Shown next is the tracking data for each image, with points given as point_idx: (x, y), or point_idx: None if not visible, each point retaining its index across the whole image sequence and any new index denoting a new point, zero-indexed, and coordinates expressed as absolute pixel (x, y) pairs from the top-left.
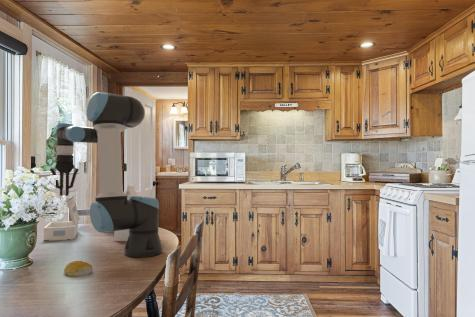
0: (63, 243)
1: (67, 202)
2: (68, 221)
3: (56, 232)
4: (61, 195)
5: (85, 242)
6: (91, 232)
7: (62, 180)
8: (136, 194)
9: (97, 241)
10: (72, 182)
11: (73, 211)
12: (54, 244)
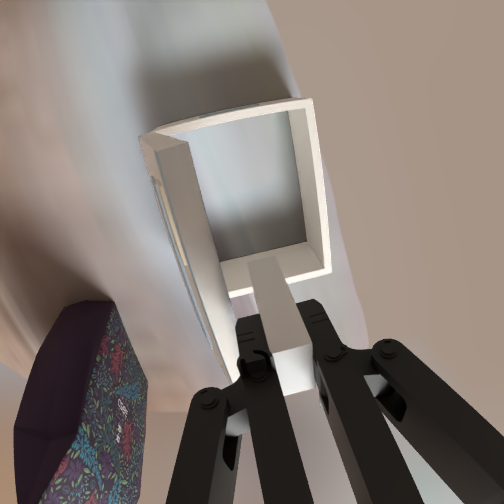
0: (177, 40)
1: (174, 141)
2: (248, 292)
3: (241, 107)
4: (302, 303)
5: (86, 68)
6: (143, 278)
7: (356, 450)
8: None
9: (44, 95)
10: (191, 457)
11: (153, 185)
12: (212, 21)
